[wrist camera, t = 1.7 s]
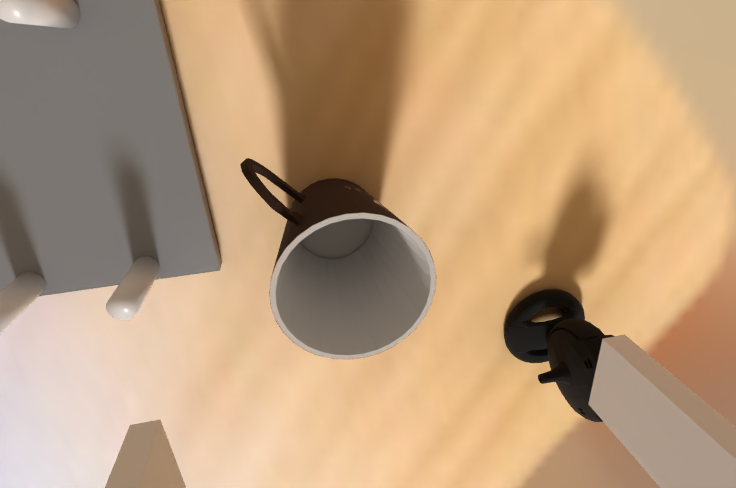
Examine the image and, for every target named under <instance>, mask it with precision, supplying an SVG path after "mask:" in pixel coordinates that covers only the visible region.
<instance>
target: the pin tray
mask: <svg viewBox="0 0 736 488" xmlns="http://www.w3.org/2000/svg"><path fill="white" fill-rule="evenodd" d="M221 264H222V261H221V257H220V253H219V249H218V245H217V240H216V236H215V232H214V228H213V224H212V220H211V215H210V211H209V207H208V203H207V199H206V195H205V190H204V186H203V182H202V178H201V174H200V170H199V165H198V161H197V157H196V153H195V149H194V145H193V140H192V136H191V132H190V128H189V124H188V120H187V115H186V111H185V107H184V103H183V99H182V95H181V90H180V86H179V82H178V78H177V74H176V70H175V65H174V61H173V57H172V53H171V49H170V45H169V40H168V36H167V32H166V28H165V24H164V20H163V15H162V11H161V7H160V3H159V0H0V335H1V334H2V333H3V332H4V331H5V330H6V329H7V328H8V327H9V326H10V325H11V324H12V323H13V322H14V321H15V320H16V318H17V317H18V316H19V315H20V314H21V313H22V312H23V311H24V310H25V309H26V308H27V307H28V306H29V305H30V304H31V303H32V302H33V301H34V300H35V299H36V298H37V297H38V296H43V295H50V294H57V293H64V292H71V291H78V290H85V289H92V288H99V287H106V286H113V285H119V286H118V287H117V288H116V290H115V291H114V293H113V294H112V296H111V297H110V299H109V300H108V302H107V304H106V310H107V312H108V313H109V314H110V315H111V316H112V317H113V318H116V319H119V320H128V319H131V318H133V317H134V316H135V315H136V314H137V312H138V310H139V308H140V306H141V304H142V302H143V301H144V299H145V297H146V295H147V293H148V291H149V290H150V288H151V286H152V284H153V282H154V280H156V279H163V278H170V277H177V276H184V275H191V274H198V273H205V272H212V271H219V270H220V268H221Z"/></svg>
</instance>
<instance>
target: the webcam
mask: <svg viewBox="0 0 736 488" xmlns="http://www.w3.org/2000/svg"><path fill="white" fill-rule="evenodd" d="M552 306H558V307H561V308H563V309H564V310H565V311H566V315H564V316H563V317H560V318H557V319H553V320H549V321H545V322H532V321H529V318H530V317H531V316H532V315H534V314H535V313H537V312H538V311H540V310H542V309H544V308H547V307H552ZM609 337H615V336H613V335H604V334H603V333H602V332H601V330H600V329H598V328H597V327H595V326H594V325H593V324H591V323H589V322H587V321H585V316H584V309H583V307H582V305H581V304H580V302H579V301H578V300H577V299H576V298H575V297H573V296H572V295H571V294H569V293H568V292H565V291H562V290H544V291H541V292H537V293H535V294H533V295H531V296H529V297H527V298H526V299H525V300H523V301H522V302H521V303H520V304H519V305H518V306H517V307H516V308H515V309H514V310H513V312H512V313H511V314H510V316H509V318H508V320H507V322H506V326H505V333H504V338H505V343H506V346H507V348H508V349H509V351H510V352H511V353H512V354H513V355H514V356H515V357H516V358H518V359H520V360H522V361H524V362H529V363H542V362H546V361H549V363H550V367H551V371H549V372H546V373H543V374H540V375H538V379H539V381H540V383H542V384H543V383H549V382H556V383H557V385H558V387H559V389H560V391H561V393H562V394H563V396H564V397H565V399H566V400H567V402H568V403H569V404H570V406H571V407H572V408H573V409H574V410H575V411H576V412H577V413H578V414H580V415H581V416H583V417H584V418H586V419H588V420H591V421H594V422H603V420H602V419H601V418H600V417H599V416H598V415H597V414H596V412H595V411H594V410H593V409H592V408H591V407H590V405H589V399H590V395H591V390H592V385H593V381H594V376H595V371H596V367H597V362H598V358H599V353H600V348H601V344H602V339H604V338H609Z"/></svg>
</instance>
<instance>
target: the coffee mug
mask: <svg viewBox="0 0 736 488" xmlns="http://www.w3.org/2000/svg"><path fill="white" fill-rule="evenodd" d="M241 169H242V172H243V174H244V176H245V177H246V179H247V180H248V182H249V183H250V184H251V186H252V187H253V188H254V189H255V190H256V192H257V193H258V194H259V195H260V196H261V197H262V198H263V199H264V200H265V202H266V203H267V204H268V205H269V206H270V207H271V208H272V209H273V210H275V211H276V212H277V213H279V214H280V215H282V216H283V217H285V218H286V219H287V224H286V227H285V231H284V234H283V238H282V241H281V245H280V248H279V252H278V255H277V259H276V262H275V266H274V270H273V273H272V277H271V283H270V291H269V294H270V304H271V309H272V312H273V315H274V317H275V320H276V322H277V324H278V325H279V327H280V328H281V330H282V331H283V333H284V334H285V335H286V336H287V337H288V338H289V339H290V340H291V341H292V342H293V343H295V344H296V345H298V346H299V347H301V348H302V349H304V350H306V351H308V352H311V353H313V354H315V355H318V356H322V357H326V358H331V359H347V360H349V359H358V358H365V357H368V356H372V355H375V354H379V353H381V352H383V351H385V350H387V349H390V348H392V347H393V346H395V345H396V344H398V343H399V342H401V341H402V340H404V339H405V338H406V337H407V336H409V335H410V334H411V333H412V332H413V331H414V330H415V329H416V328H417V327H418V325H419V324H420V323H421V321H422V320H423V319H424V317H425V316H426V314H427V312H428V310H429V308H430V306H431V303H432V300H433V297H434V293H435V286H436V272H435V265H434V261H433V259H432V256H431V254H430V251H429V249H428V248H427V246H426V245H425V243H424V242H423V240H422V239H421V238H420V237H419V236H418V235H417V234H416V233H415V232H414V231H413V230H412V229H411V228H409V227H408V226H407V225H406V224H405V223H403V222H402V221H401V220H400V219H399V218H397V217H396V216H395V215H394V214H393V213H391V212H390V211H389V210H388V209H387V208H385V207H384V206H383V205H382V204H380V203H379V202H378V201H377V200H376V199H374V198H373V197H372V196H371V195H370V194H368V193H367V192H366V191H365V190H364V189H362V188H361V187H360V186H358V185H356V184H355V183H353V182H350V181H347V180H343V179H325V180H321V181H318V182H316V183H314V184H311V185H310V186H308V187H307V188H306V189H304V190H303V191H302V192H301V193H298V192H297V191H296V190H294V189H293V188H292V187H291V186H289V185H288V184H287V183H286V182H284V181H283V180H282V179H280V178H279V177H278V176H276V175H275V174H274V173H272V172H271V171H270V170H268V169H267V168H265V167H264V166H262V165H261V164H259V163H258V162H256V161H254V160H252V159H249V158H247V159H246V160H244V161H243V162H242V163H241ZM255 172H256V173H258V174H260V175H262V176H264V177H266V178H267V179H268V180H270V181H271V182H272V183H274V184H275V185H277V186H278V187H279V188H281V189H282V190H283V191H285V192H286V193H287V194H289V195H290V196H291V197H293V198H294V199H295V201H294V203H293V204H292V207H291V210H289V209H288V208H287V207H285V206H284V205H283V204H282V203H281V202H280V201H279V200H278V199H277V198H276V197H275V196H274V195H272V194H271V192H270V191H269V190H268V189H267V188H266V187H265V185H264V184H263V183H262V182H261V180H260V179H259V178H258V176H257V175H256V173H255Z"/></svg>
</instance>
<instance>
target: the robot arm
mask: <svg viewBox="0 0 736 488" xmlns="http://www.w3.org/2000/svg"><path fill="white" fill-rule="evenodd" d="M589 405H590V407H591V408H592V409H593V410H594V411H595V412H596V414H597V415H598V416H599V417H600V418H601V419H602V420H603V422H604V423H605V424H606V425H607V426H608V427H609V429H610V430H611V431H612V432H613V433H614V434H615V436H616V437H617V438H618V439H619V440H620V441H621V443H622V444H623V445H624V446H625V447H626V448H627V450H628V451H629V452H630V453H631V454H632V455H633V457H634V458H635V459H636V460H637V461H638V462H639V463H640V465H641V466H642V467H643V468H644V469H645V470H646V472H647V473H648V474H649V475H650V476H651V477H652V479H653V480H654V481H655V482H656V483H657V484H658V486H660V488H736V427H734V426H733V425H732V424H731V423H730V422H728V421H727V420H726V419H725V418H724V417H722V416H721V415H720V414H719V413H718V412H717V411H715V410H714V409H713V408H712V407H710V406H709V405H708V404H707V403H706V402H705V401H703V400H702V399H701V398H700V397H699V396H697V395H696V394H695V393H694V392H693V391H691V390H690V389H689V388H688V387H687V386H685V385H684V384H683V383H682V382H681V381H679V380H678V379H677V378H676V377H675V376H673V375H672V374H671V373H670V372H669V371H667V370H666V369H665V368H664V367H663V366H662V365H660V364H659V363H658V362H657V361H656V360H654V359H653V358H652V357H651V356H650V355H648V354H647V353H646V352H645V351H644V350H642V349H641V348H640V347H639V346H638V345H636V344H635V343H634V342H633V341H632V340H630V339H629V338H628V337H627V336H626V335H620V336H615V337H609V338H604V339H602V344H601V348H600V353H599V358H598V362H597V367H596V371H595V376H594V381H593V385H592V390H591V395H590V399H589ZM105 488H186V486H185V483H184V481H183V478H182V476H181V473H180V470H179V468H178V465H177V462H176V460H175V457H174V454H173V452H172V449H171V447H170V444H169V441H168V439H167V436H166V433H165V431H164V428H163V425H162V423H161V420H156V421H150V422H145V423H139V424H134V425H130V427H129V429H128V432H127V434H126V437H125V439H124V442H123V444H122V447H121V449H120V452H119V454H118V457H117V459H116V462H115V464H114V467H113V469H112V472H111V474H110V477H109V479H108V482H107V484H106V487H105Z"/></svg>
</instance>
